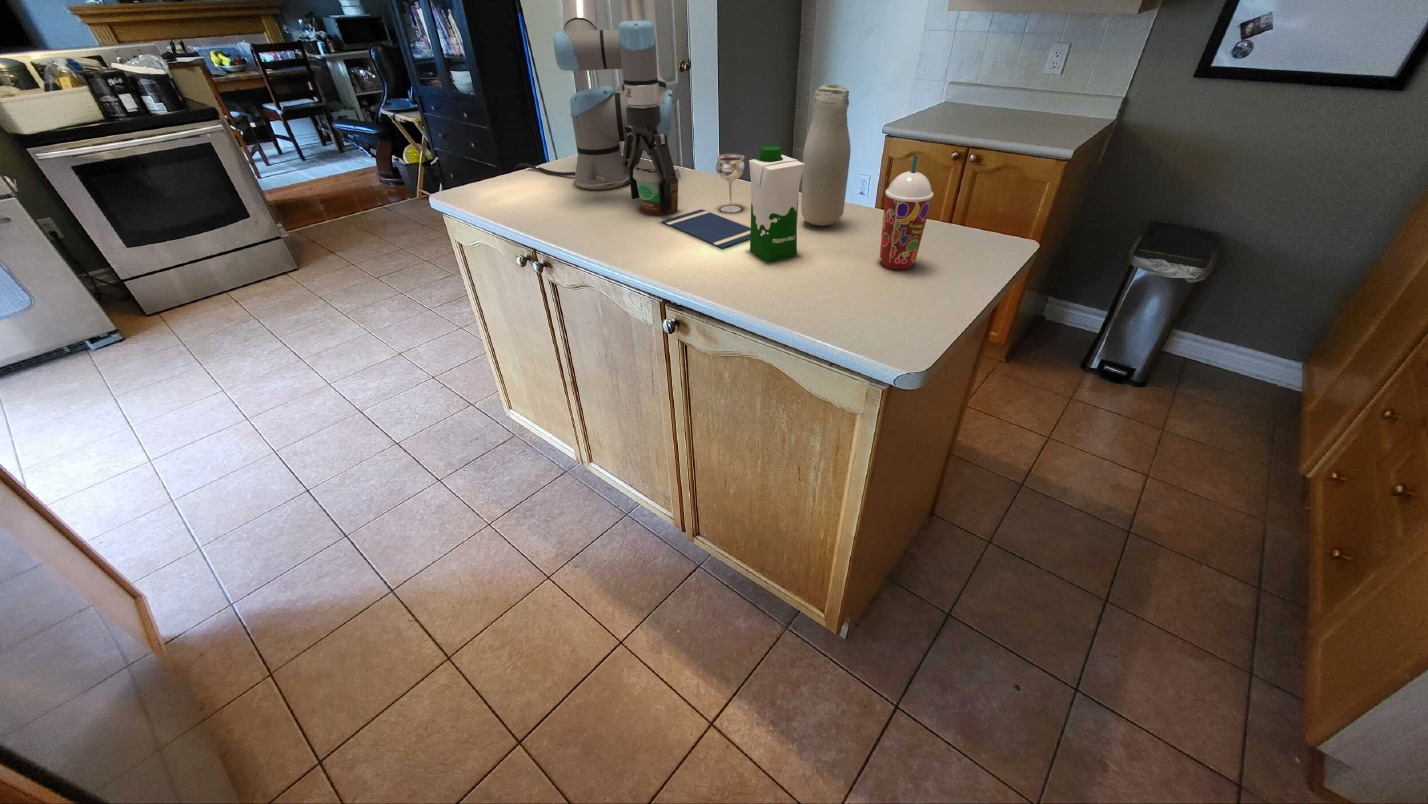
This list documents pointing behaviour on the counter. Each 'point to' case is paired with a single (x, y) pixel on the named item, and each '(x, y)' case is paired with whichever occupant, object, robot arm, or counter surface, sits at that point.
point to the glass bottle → (826, 157)
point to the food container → (654, 191)
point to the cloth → (710, 228)
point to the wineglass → (730, 173)
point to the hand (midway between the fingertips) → (651, 204)
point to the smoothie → (904, 218)
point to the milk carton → (774, 204)
